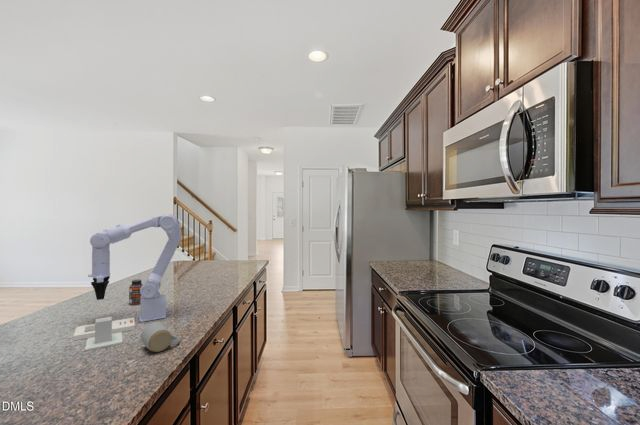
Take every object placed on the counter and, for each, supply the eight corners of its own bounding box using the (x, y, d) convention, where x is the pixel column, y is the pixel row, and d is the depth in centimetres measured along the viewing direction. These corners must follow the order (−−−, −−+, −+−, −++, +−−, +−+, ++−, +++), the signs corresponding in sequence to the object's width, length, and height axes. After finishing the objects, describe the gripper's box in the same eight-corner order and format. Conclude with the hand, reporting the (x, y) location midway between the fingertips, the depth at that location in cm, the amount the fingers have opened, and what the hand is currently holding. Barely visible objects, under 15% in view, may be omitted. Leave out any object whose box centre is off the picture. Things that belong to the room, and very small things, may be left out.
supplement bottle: (130, 306, 141) (130, 282, 141) (127, 303, 145) (128, 280, 145) (144, 303, 145) (144, 280, 145) (142, 301, 149) (142, 278, 149)
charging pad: (122, 333, 109) (122, 331, 109) (122, 343, 101) (122, 341, 101) (87, 340, 104) (87, 338, 104) (84, 351, 95) (84, 349, 95)
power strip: (133, 321, 121) (133, 316, 121) (134, 329, 113) (134, 323, 113) (76, 331, 111) (76, 325, 111) (73, 340, 103) (73, 334, 103)
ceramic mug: (148, 356, 92) (148, 331, 92) (140, 348, 98) (140, 324, 98) (183, 346, 100) (184, 323, 100) (174, 339, 105) (174, 317, 105)
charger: (111, 336, 105) (111, 316, 105) (111, 340, 102) (111, 320, 102) (95, 339, 102) (95, 319, 102) (95, 343, 99) (95, 322, 99)
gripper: (89, 261, 123) (89, 294, 123) (86, 266, 111) (86, 303, 111) (110, 259, 127) (110, 291, 127) (110, 264, 115) (109, 300, 115)
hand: (100, 297), depth 119 cm, fingers open, 7 cm apart
